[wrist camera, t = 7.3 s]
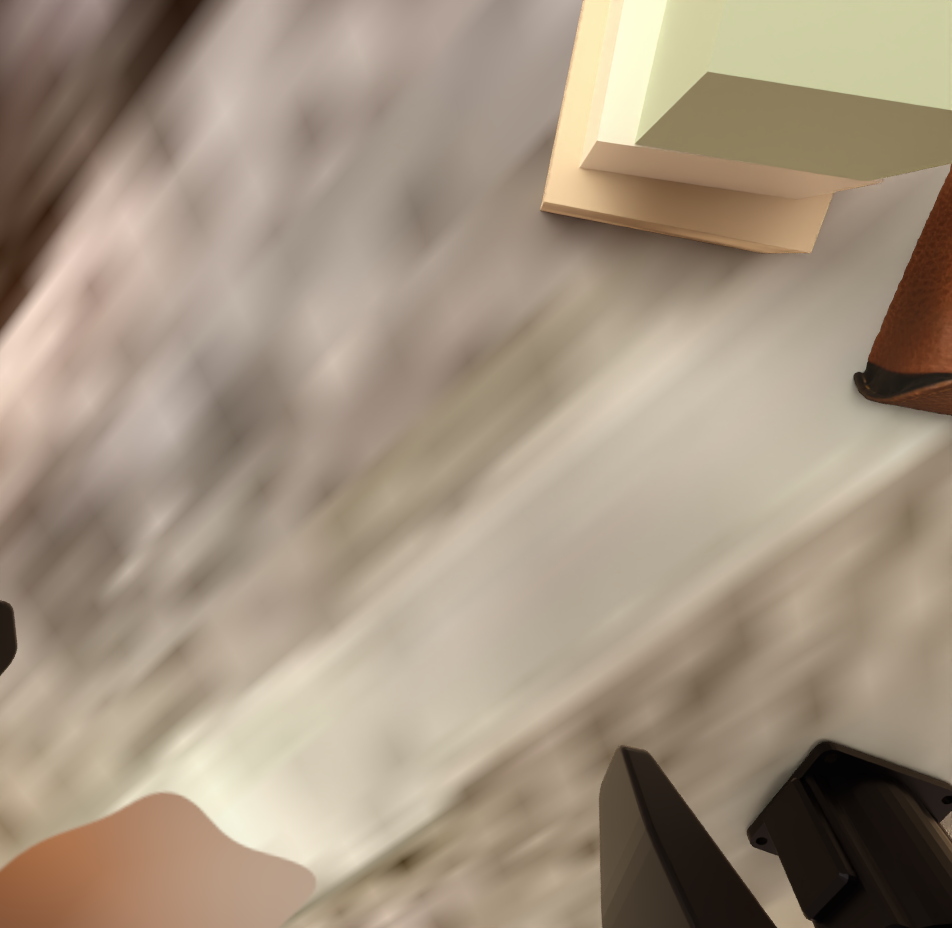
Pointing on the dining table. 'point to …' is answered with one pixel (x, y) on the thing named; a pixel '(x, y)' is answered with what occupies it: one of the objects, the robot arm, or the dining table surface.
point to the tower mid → (621, 106)
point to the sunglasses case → (918, 325)
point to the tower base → (661, 201)
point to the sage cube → (805, 84)
